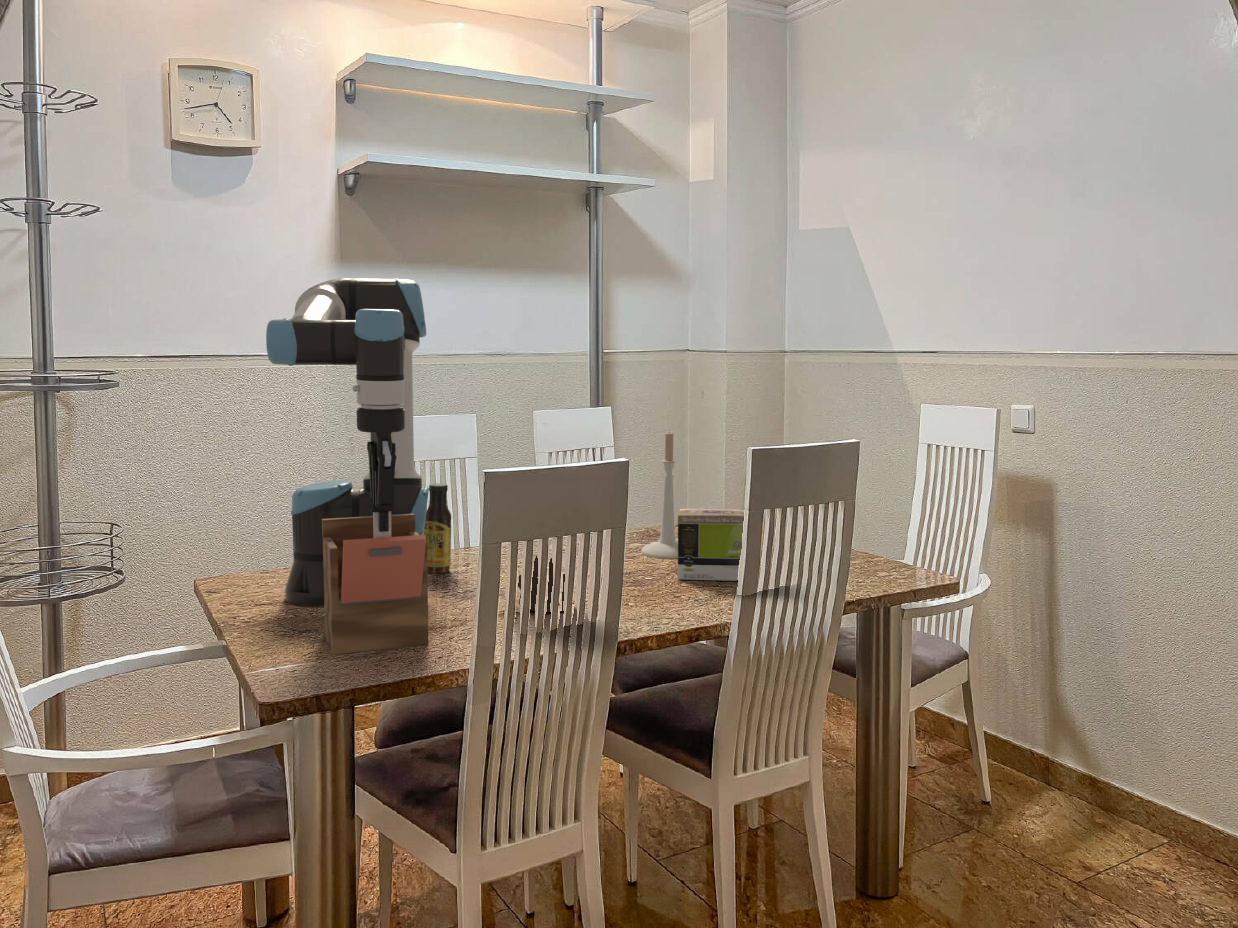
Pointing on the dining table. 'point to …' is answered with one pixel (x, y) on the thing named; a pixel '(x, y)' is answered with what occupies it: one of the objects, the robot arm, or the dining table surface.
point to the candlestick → (666, 511)
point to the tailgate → (382, 569)
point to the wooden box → (373, 620)
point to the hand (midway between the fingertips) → (382, 549)
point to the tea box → (709, 543)
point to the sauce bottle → (438, 530)
